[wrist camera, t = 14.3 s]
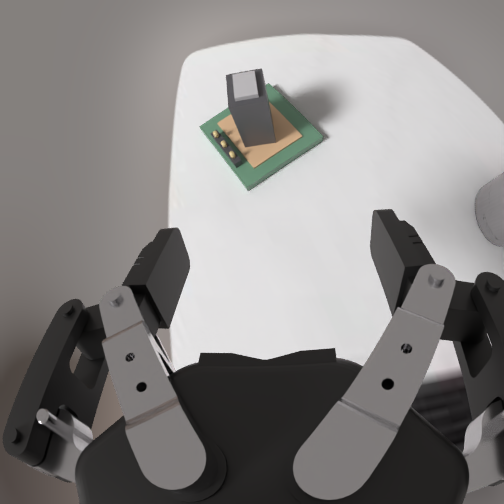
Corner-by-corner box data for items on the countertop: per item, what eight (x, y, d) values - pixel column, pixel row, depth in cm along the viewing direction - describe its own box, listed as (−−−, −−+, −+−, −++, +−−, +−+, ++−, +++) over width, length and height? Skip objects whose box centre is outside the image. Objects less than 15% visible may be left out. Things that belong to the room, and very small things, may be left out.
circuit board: (269, 88, 38) (266, 73, 35) (322, 141, 36) (323, 127, 32) (202, 130, 39) (194, 118, 36) (248, 191, 36) (242, 181, 33)
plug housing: (271, 112, 36) (261, 65, 27) (276, 142, 35) (266, 97, 26) (242, 116, 37) (224, 71, 27) (245, 147, 36) (227, 104, 26)
